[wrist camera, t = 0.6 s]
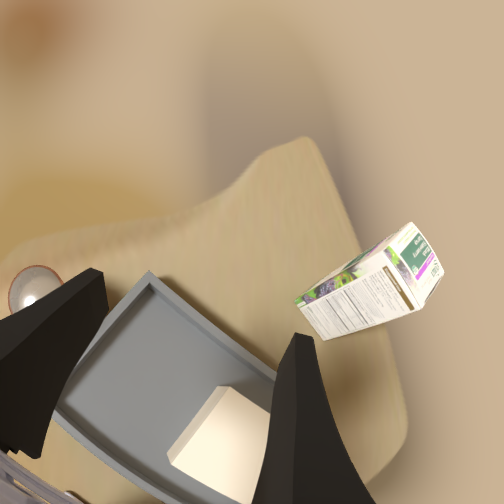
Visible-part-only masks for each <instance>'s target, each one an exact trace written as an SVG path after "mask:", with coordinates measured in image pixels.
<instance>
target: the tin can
mask: <svg viewBox="0 0 504 504" xmlns="http://www.w3.org/2000/svg"><path fill="white" fill-rule="evenodd" d="M63 284H64V283H63V281H62V280H61V278H60V277H59V275H58V274H57V273H56V272H55V271H54V270H52V269H51V268H49V267H46V266H42V265H33V266H29V267H27V268H25V269H23V270H22V271H21V272H19V273H18V274H17V275H16V277H15V278H14V280H13V281H12V283H11V286H10V289H9V293H8V305H9V309H10V312H11V314H14V313H16V312H18V311H20V310H21V309H23V308H25V307H27V306H28V305H30V304H32V303H33V302H35V301H37V300H39V299H40V298H42V297H44V296H45V295H47V294H48V293H50V292H52V291H53V290H55V289H56V288H58V287H60V286H61V285H63Z"/></svg>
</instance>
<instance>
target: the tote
mask: <svg viewBox="0 0 504 504" xmlns="http://www.w3.org/2000/svg"><path fill="white" fill-rule="evenodd" d="M276 376H277V372H276V371H274V370H273V369H271V368H270V367H269V366H267V365H266V364H265V363H263V362H262V361H261V360H259V359H258V358H257V357H255V356H254V355H252V354H251V353H250V352H249V351H247V350H246V349H245V348H243V347H242V346H241V345H239V344H238V343H237V342H235V341H234V340H233V339H231V338H230V337H229V336H228V335H226V334H225V333H224V332H223V331H221V330H220V329H219V328H217V327H216V326H215V325H214V324H212V323H211V322H210V321H209V320H207V319H206V318H205V317H204V316H202V315H201V314H200V313H199V312H198V311H196V310H195V309H194V308H193V307H191V306H190V305H189V304H188V303H187V302H185V301H184V300H183V299H182V298H181V297H179V296H178V295H177V294H176V293H175V292H173V291H172V290H171V289H170V288H169V287H168V286H166V285H165V284H164V283H163V282H162V281H161V280H160V279H158V278H157V277H156V276H155V275H154V274H153V273H151V272H150V271H148V272H147V273H146V274H145V275H144V276H143V277H142V278H141V279H140V280H139V281H138V282H137V283H136V284H135V286H134V287H133V288H132V289H131V290H130V291H129V292H128V293H127V294H126V295H125V296H124V297H123V299H122V300H121V301H120V302H119V303H118V304H117V305H116V306H115V307H114V309H113V310H112V311H111V312H110V313H109V314H108V315H107V316H106V318H105V319H104V321H103V323H102V325H101V326H100V328H99V330H98V332H97V334H96V335H95V337H94V338H93V340H92V341H91V343H90V344H89V346H88V348H87V349H86V351H85V352H84V354H83V355H82V357H81V358H80V360H79V361H78V363H77V365H76V366H75V368H74V369H73V371H72V372H71V374H70V376H69V378H68V380H67V381H66V384H65V386H64V388H63V390H62V392H61V395H60V397H59V399H58V402H57V404H56V407H55V409H54V412H53V414H52V417H51V418H52V419H53V420H54V421H55V422H56V423H58V424H59V425H60V426H61V427H62V428H63V429H64V430H65V431H66V432H67V433H69V434H70V435H71V436H72V437H73V438H74V439H75V440H77V441H78V442H79V443H80V444H81V445H83V446H84V447H85V448H86V449H87V450H89V451H90V452H91V453H92V454H94V455H95V456H96V457H97V458H99V459H100V460H101V461H103V462H104V463H105V464H107V465H108V466H109V467H111V468H112V469H113V470H115V471H116V472H118V473H119V474H120V475H122V476H123V477H125V478H126V479H128V480H129V481H131V482H132V483H134V484H135V485H137V486H138V487H140V488H141V489H143V490H144V491H146V492H148V493H149V494H151V495H153V496H154V497H156V498H157V499H159V500H161V501H163V502H164V503H166V504H242V503H239V502H237V501H235V500H233V499H231V498H229V497H227V496H225V495H223V494H221V493H219V492H218V491H216V490H214V489H212V488H210V487H208V486H206V485H205V484H203V483H201V482H199V481H198V480H196V479H194V478H192V477H191V476H189V475H187V474H186V473H184V472H182V471H181V470H179V469H178V468H176V467H174V466H173V465H171V463H170V461H169V458H168V456H167V452H168V450H169V449H170V448H171V447H172V445H173V444H174V443H175V441H176V440H177V439H178V438H179V436H180V435H181V434H182V432H183V431H184V430H185V429H186V427H187V426H188V425H189V423H190V422H191V421H192V419H193V418H194V417H195V416H196V414H197V413H198V412H199V410H200V409H201V408H202V406H203V405H204V404H205V402H206V401H207V400H208V398H209V397H210V396H211V394H212V393H213V392H214V390H215V389H216V387H217V386H230V387H231V388H233V389H234V390H236V391H237V392H238V393H240V394H241V395H243V396H244V397H246V398H247V399H249V400H250V401H251V402H253V403H254V404H256V405H257V406H259V407H260V408H262V409H263V410H265V411H266V412H268V413H271V405H272V396H273V389H274V384H275V380H276Z"/></svg>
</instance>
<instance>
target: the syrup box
mask: <svg viewBox="0 0 504 504" xmlns="http://www.w3.org/2000/svg"><path fill="white" fill-rule="evenodd" d="M443 275H444V270H443V269H442V266H441V264H440V262H439V260H438V258H437V256H436V254H435V253H434V251H433V249H432V248H431V246H430V245H429V243H428V242H427V240H426V239H425V237H424V236H423V235H422V233H421V232H420V231H419V230H418V228H417V227H416V226H415V225H414V224H413V223H412V222H410V223H408V224H406V225H405V226H404V227H402V228H401V229H399V230H398V231H396V232H395V233H393V234H392V235H390V236H388V237H387V238H385V239H384V240H382V241H381V242H379V243H377V244H376V245H375V246H373V247H371V248H369V249H368V250H366V251H364V252H363V253H361V254H360V255H358V256H357V257H355V258H353V259H352V260H350V261H349V262H347V263H345V264H344V265H342V266H341V267H339V268H337V269H336V270H334V271H333V272H331V273H330V274H328V275H327V276H325V277H324V278H322V279H321V280H320V281H318V282H317V283H316V284H314V285H313V286H312V287H311V288H309V289H308V290H307V291H306V292H304V293H303V294H302V295H301V296H300V297H298V298H297V299H296V300H295V304H296V305H297V306H298V308H299V309H300V310H301V312H302V313H303V314H304V316H305V317H306V318H307V320H308V321H309V322H310V324H311V325H312V327H313V328H314V329H315V330H316V332H317V333H318V334H319V336H320V337H321V338H322V340H323V341H326V340H330V339H333V338H337V337H340V336H344V335H347V334H350V333H353V332H356V331H360V330H363V329H366V328H369V327H372V326H375V325H378V324H381V323H384V322H387V321H390V320H393V319H396V318H399V317H401V316H404V315H407V314H410V313H412V312H415V311H418V310H421V309H422V308H423V306H424V304H425V302H426V301H427V299H428V298H429V297H430V296H431V294H432V293H433V291H434V290H435V289H436V287H437V285H438V283H439V282H440V280H441V278H442V277H443Z"/></svg>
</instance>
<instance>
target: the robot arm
mask: <svg viewBox="0 0 504 504" xmlns="http://www.w3.org/2000/svg"><path fill="white" fill-rule="evenodd" d="M108 310H109V307H108V301H107V295H106V289H105V282H104V275H103V272H101V271H98V270H95V269H93V268H89V269H87V270H85V271H83V272H82V273H80V274H79V275H77V276H75V277H74V278H72V279H71V280H69V281H67V282H66V283H64V284H63V285H61V286H60V287H58V288H56V289H55V290H53V291H52V292H50V293H48V294H47V295H45V296H44V297H42V298H40V299H39V300H37V301H35V302H33V303H32V304H30V305H28V306H27V307H25V308H23V309H21V310H20V311H18V312H16V313H14V314H12V315H10V316H8V317H6V318H4V319H2V320H0V504H47V503H46V502H45V501H43V500H42V499H41V498H40V497H42V498H43V499H45V500H46V501H48V502H49V503H51V504H84V503H83V502H81V501H80V500H78V499H77V498H76V497H74V496H73V495H72V494H70V493H69V492H61V491H60V490H58V489H56V488H55V487H53V486H51V485H50V484H48V483H47V482H45V481H43V480H42V479H40V478H39V477H37V476H36V475H34V474H33V473H31V472H30V471H28V470H27V469H26V468H24V467H23V466H21V465H20V464H19V463H17V462H16V461H14V460H13V459H12V458H10V457H9V456H8V455H7V453H8V451H9V450H11V451H12V452H13V453H15V454H17V453H18V451H19V450H21V451H22V452H24V453H25V454H26V455H28V456H29V457H31V458H32V459H37V458H40V457H41V452H42V448H43V444H44V440H45V436H46V433H47V430H48V426H49V423H50V420H51V417H52V414H53V412H54V409H55V407H56V404H57V402H58V399H59V397H60V395H61V392H62V390H63V388H64V386H65V384H66V381H67V380H68V378H69V376H70V374H71V372H72V371H73V369H74V368H75V366H76V365H77V363H78V361H79V360H80V358H81V357H82V355H83V354H84V352H85V351H86V349H87V348H88V346H89V344H90V343H91V341H92V340H93V338H94V337H95V335H96V334H97V332H98V330H99V328H100V326H101V325H102V323H103V321H104V319H105V316H106V314H107V312H108ZM13 478H14V479H15V480H17V481H18V482H20V483H21V484H22V485H24V486H25V487H27V488H28V489H30V490H31V491H32V492H34V493H35V494H37V495H38V496H40V497H38V496H37V495H35V494H34V493H32V492H31V491H29V490H27V489H25V488H23V487H22V486H20V485H18V484H16V483H14V479H13ZM251 504H376V503H375V502H374V500H373V499H372V497H371V496H370V494H369V492H368V491H367V489H366V487H365V486H364V484H363V482H362V480H361V478H360V477H359V475H358V473H357V471H356V469H355V467H354V465H353V463H352V462H351V460H350V457H349V455H348V453H347V451H346V449H345V446H344V444H343V442H342V439H341V437H340V434H339V432H338V429H337V427H336V424H335V421H334V418H333V415H332V412H331V409H330V406H329V403H328V400H327V396H326V392H325V389H324V385H323V382H322V378H321V373H320V369H319V365H318V360H317V355H316V350H315V344H314V339H313V337H311V336H307V335H303V334H299V333H296V332H295V334H294V336H293V338H292V340H291V342H290V344H289V346H288V348H287V350H286V352H285V354H284V356H283V358H282V360H281V362H280V364H279V367H278V371H277V376H276V380H275V384H274V389H273V396H272V405H271V413H270V421H269V429H268V437H267V444H266V450H265V455H264V459H263V463H262V467H261V471H260V475H259V478H258V482H257V486H256V489H255V493H254V496H253V499H252V503H251Z"/></svg>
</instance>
